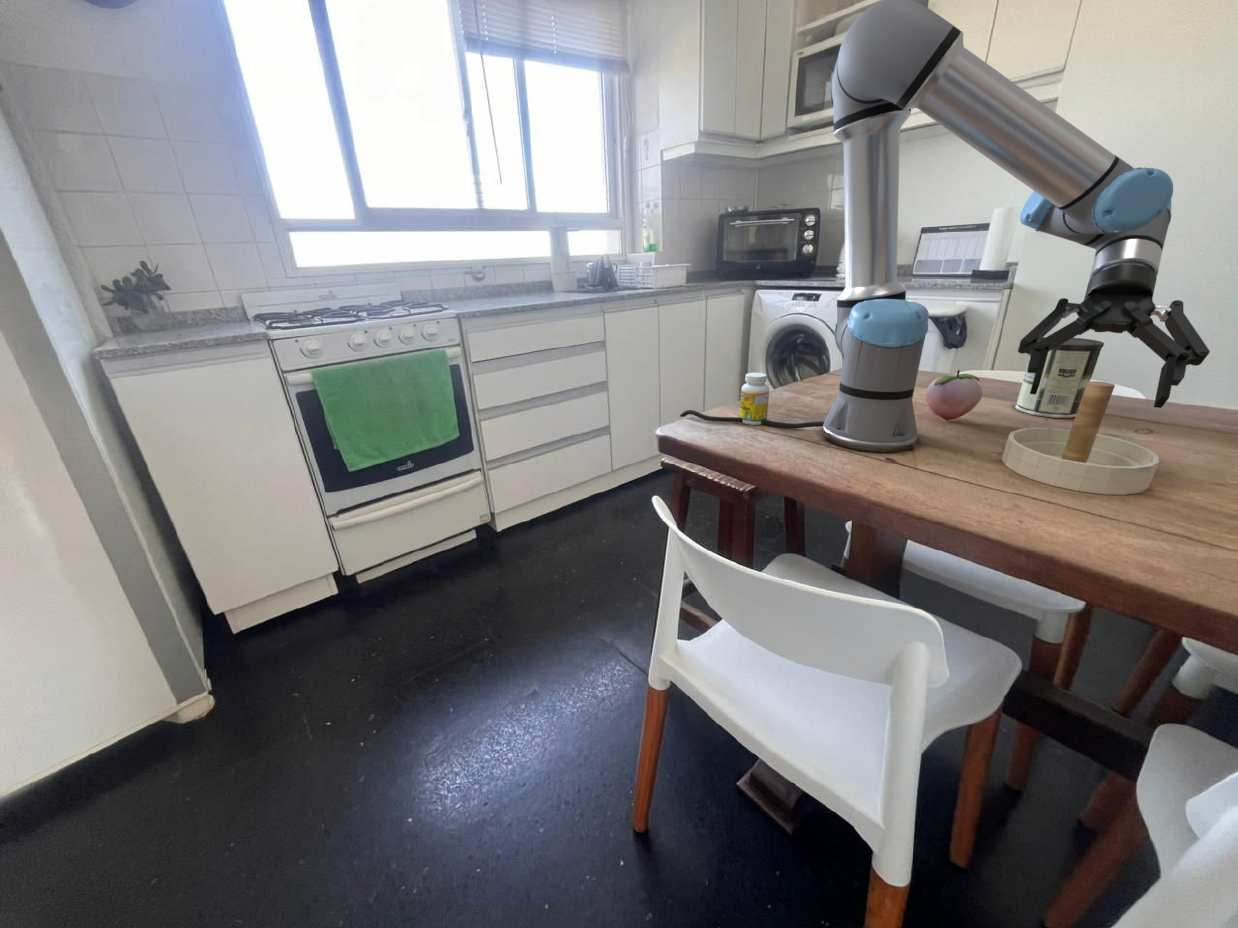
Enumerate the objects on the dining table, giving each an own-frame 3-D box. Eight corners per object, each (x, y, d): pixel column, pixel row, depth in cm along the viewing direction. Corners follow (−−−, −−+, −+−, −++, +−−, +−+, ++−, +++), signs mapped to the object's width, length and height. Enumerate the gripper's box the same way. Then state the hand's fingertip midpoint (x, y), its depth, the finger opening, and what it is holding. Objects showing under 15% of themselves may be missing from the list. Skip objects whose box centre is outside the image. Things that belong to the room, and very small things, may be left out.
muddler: (1054, 474, 71) (1084, 386, 66) (1044, 461, 76) (1071, 378, 70) (1098, 479, 69) (1133, 389, 64) (1085, 466, 74) (1117, 380, 69)
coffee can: (1051, 403, 105) (1072, 335, 99) (1093, 417, 95) (1120, 344, 90) (1002, 404, 105) (1021, 337, 100) (1039, 419, 96) (1062, 345, 90)
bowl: (1015, 487, 69) (1024, 458, 67) (991, 448, 83) (998, 423, 81) (1171, 507, 63) (1186, 475, 61) (1117, 461, 76) (1128, 434, 74)
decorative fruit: (944, 411, 102) (956, 363, 98) (982, 423, 95) (996, 371, 91) (909, 417, 99) (919, 368, 95) (945, 429, 92) (958, 376, 88)
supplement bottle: (771, 423, 98) (776, 376, 95) (747, 426, 97) (750, 378, 93) (758, 416, 103) (761, 370, 99) (734, 419, 102) (737, 373, 98)
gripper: (1231, 297, 72) (1210, 422, 67) (1016, 295, 86) (986, 397, 81) (1259, 259, 66) (1238, 393, 61) (1024, 263, 80) (992, 371, 76)
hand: (1094, 395), depth 71 cm, fingers open, 13 cm apart
